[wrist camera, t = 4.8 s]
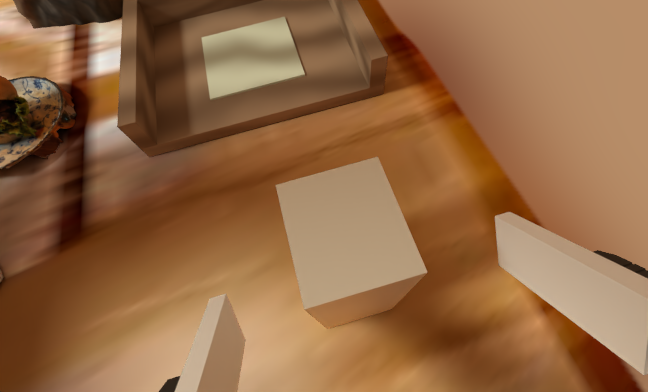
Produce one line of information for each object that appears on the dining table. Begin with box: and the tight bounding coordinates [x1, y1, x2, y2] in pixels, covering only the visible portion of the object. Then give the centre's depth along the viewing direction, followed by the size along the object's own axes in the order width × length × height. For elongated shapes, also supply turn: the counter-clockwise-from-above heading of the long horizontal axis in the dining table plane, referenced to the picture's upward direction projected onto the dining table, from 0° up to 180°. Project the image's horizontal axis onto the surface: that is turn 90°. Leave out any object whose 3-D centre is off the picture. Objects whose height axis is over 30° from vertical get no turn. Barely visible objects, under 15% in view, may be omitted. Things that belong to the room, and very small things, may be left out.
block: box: [276, 157, 428, 329], centre depth 17 cm, size 5×4×11 cm
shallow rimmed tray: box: [117, 0, 388, 157], centre depth 30 cm, size 18×22×4 cm
